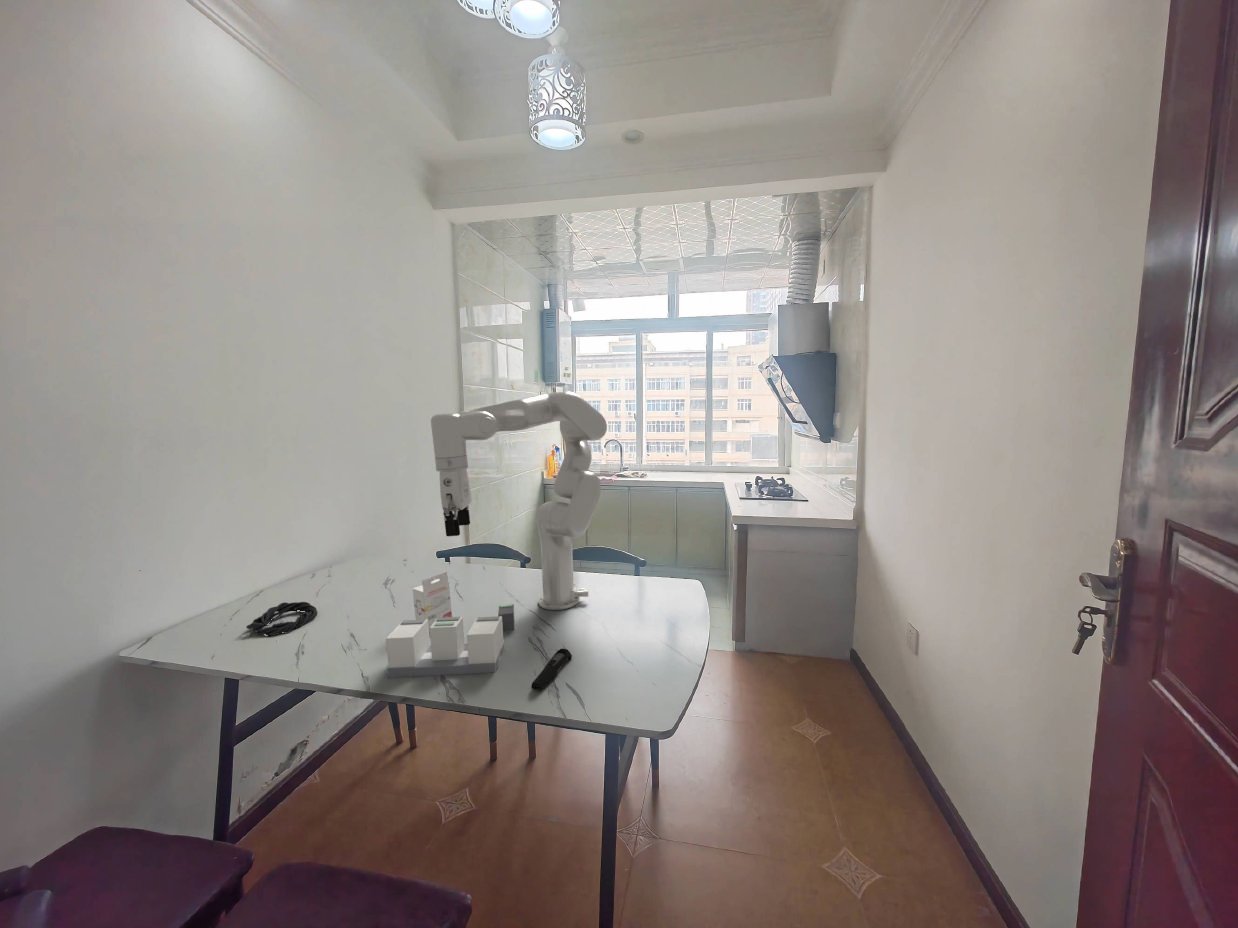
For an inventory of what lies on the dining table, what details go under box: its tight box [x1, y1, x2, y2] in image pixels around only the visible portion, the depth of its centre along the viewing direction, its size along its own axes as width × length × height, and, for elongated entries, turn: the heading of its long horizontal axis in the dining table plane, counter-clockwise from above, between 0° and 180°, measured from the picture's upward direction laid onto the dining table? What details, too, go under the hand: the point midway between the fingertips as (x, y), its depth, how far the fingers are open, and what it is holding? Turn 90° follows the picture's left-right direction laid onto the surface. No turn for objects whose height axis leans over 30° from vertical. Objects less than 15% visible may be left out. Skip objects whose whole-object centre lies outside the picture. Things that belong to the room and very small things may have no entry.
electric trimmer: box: [530, 648, 573, 691], centre depth 103 cm, size 4×16×3 cm, turn 161°
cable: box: [246, 601, 318, 636], centre depth 134 cm, size 17×14×4 cm
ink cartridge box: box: [412, 571, 453, 632], centre depth 129 cm, size 9×5×15 cm, turn 148°
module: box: [429, 616, 465, 661], centre depth 109 cm, size 6×5×8 cm
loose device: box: [497, 603, 515, 633], centre depth 127 cm, size 4×6×5 cm, turn 12°
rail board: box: [385, 615, 505, 678], centre depth 109 cm, size 24×10×9 cm, turn 92°
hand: (458, 530), depth 117 cm, fingers open, 9 cm apart
